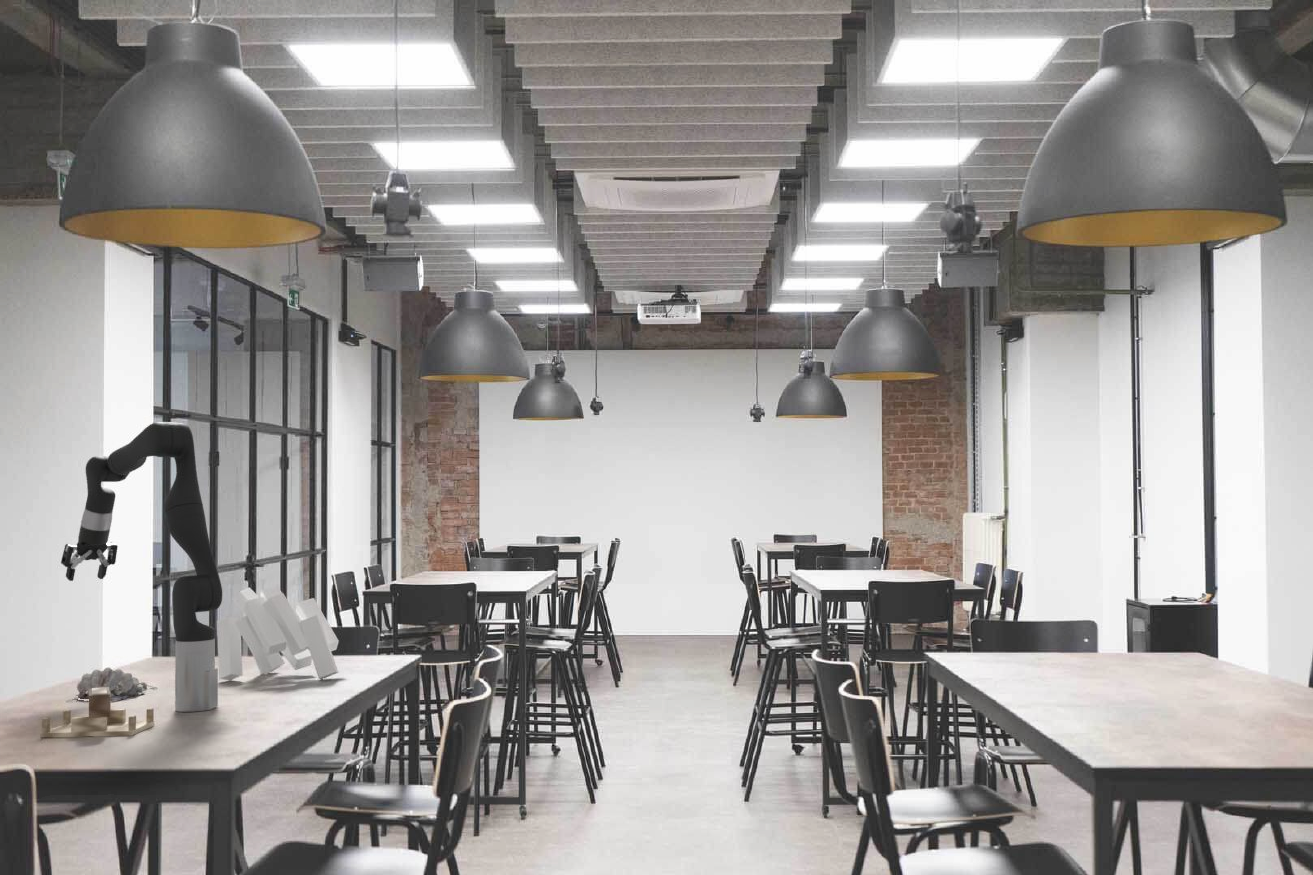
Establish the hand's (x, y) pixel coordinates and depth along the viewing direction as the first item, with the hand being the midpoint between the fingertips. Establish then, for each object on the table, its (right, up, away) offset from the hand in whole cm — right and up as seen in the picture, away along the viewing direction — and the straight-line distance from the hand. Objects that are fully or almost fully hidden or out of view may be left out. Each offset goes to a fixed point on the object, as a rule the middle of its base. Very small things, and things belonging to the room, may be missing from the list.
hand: (85, 578), depth 325 cm
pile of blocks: (+49, -31, +16) cm, 61 cm away
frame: (+34, -23, -63) cm, 75 cm away
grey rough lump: (+12, -31, -9) cm, 35 cm away
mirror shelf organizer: (+34, -27, -63) cm, 77 cm away
